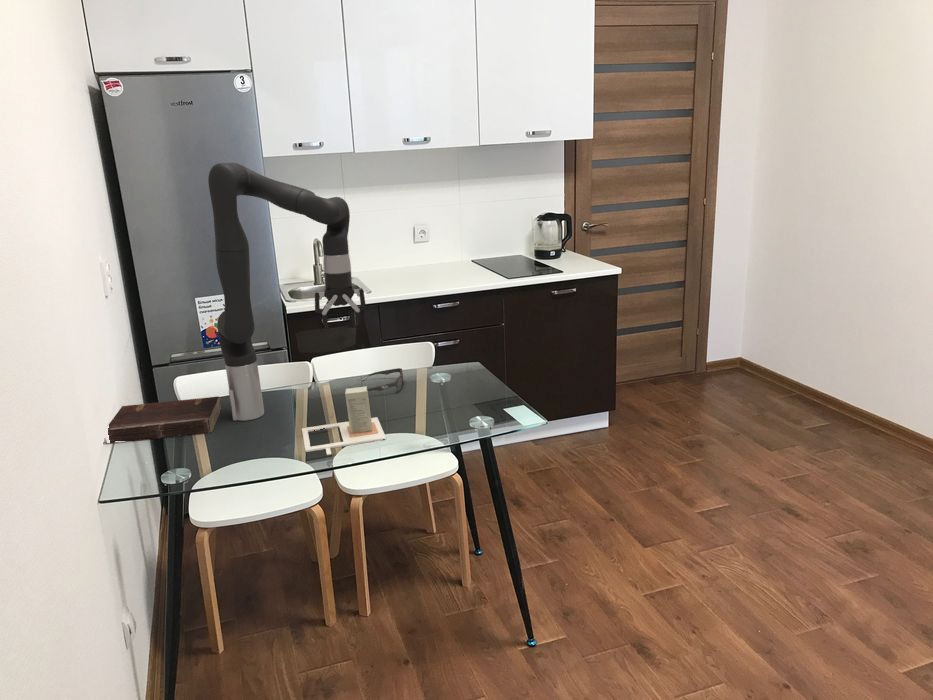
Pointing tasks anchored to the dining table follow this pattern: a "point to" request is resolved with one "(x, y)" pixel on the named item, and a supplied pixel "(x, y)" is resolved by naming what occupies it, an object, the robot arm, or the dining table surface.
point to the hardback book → (164, 419)
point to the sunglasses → (397, 383)
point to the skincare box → (358, 409)
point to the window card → (345, 435)
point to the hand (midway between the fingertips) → (341, 325)
